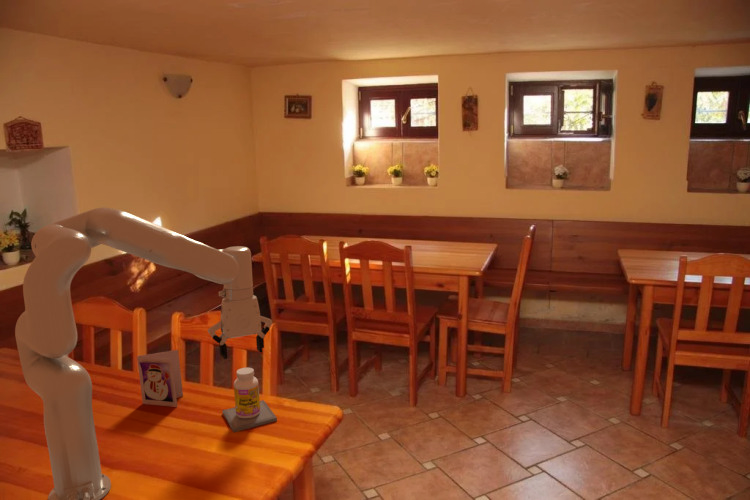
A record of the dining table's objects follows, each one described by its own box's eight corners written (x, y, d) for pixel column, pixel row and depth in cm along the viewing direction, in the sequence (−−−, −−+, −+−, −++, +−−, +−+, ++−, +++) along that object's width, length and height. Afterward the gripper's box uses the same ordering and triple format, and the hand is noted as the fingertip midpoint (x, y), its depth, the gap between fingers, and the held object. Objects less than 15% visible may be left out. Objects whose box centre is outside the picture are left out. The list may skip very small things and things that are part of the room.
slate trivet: (276, 420, 163) (276, 417, 163) (233, 432, 158) (233, 428, 158) (263, 403, 174) (263, 399, 173) (222, 413, 168) (222, 410, 168)
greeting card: (141, 405, 175) (135, 357, 172) (155, 393, 182) (150, 347, 179) (175, 408, 172) (170, 359, 169) (189, 396, 179) (184, 350, 176)
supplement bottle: (236, 421, 161) (232, 377, 159) (235, 410, 168) (231, 367, 165) (261, 417, 163) (258, 373, 160) (259, 406, 169) (256, 364, 167)
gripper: (208, 301, 151) (213, 364, 154) (274, 292, 159) (277, 352, 162) (202, 294, 157) (207, 355, 161) (266, 285, 165) (268, 344, 168)
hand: (242, 354), depth 161 cm, fingers open, 9 cm apart
